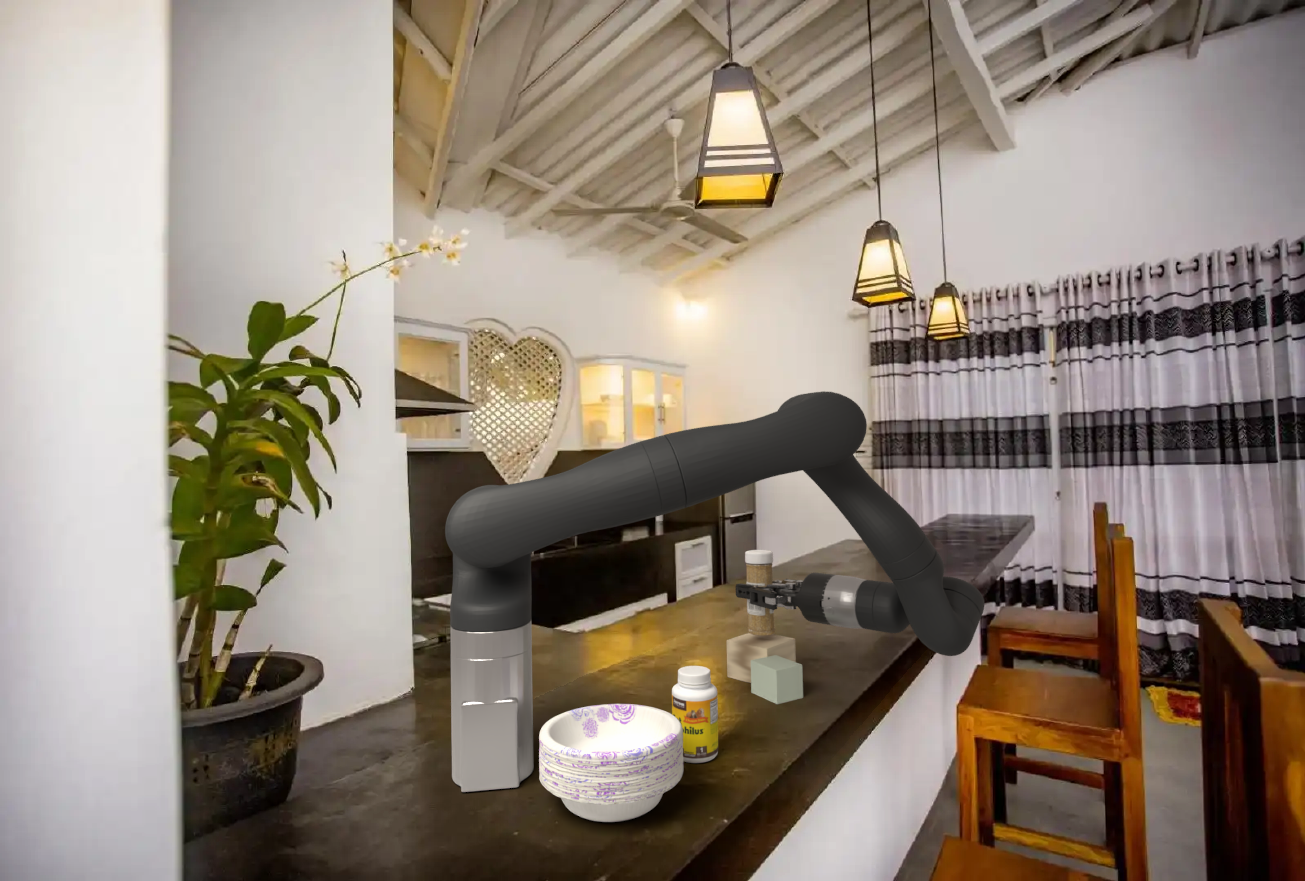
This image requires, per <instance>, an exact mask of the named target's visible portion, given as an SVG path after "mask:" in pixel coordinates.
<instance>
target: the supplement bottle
mask: <svg viewBox="0 0 1305 881" xmlns="http://www.w3.org/2000/svg"><path fill="white" fill-rule="evenodd" d="M711 680H712V677H711V669H709V668H708V667H706V666H702V665H686V666H682V667H680V668H679V669H678V670H677V683H676V684H674V685H673V687H672V688H671V714H672V715H673V716H675V717H676V718H677V719H678V720H679V722H680V723H681V725H682V728H683V762H684V763H685V762H686V763H691V764H702V763H707V762H710V761H712V760H714V759H715V758H716V757H717V756H718V753H719V720H718V719H719V712H718V711H719V710H718V706H719V705H718V704H719V703H718V702H719V701H718V700H719V699H718V688H717V687H716V686H715V685H714V684H713V683H712V681H711Z"/></svg>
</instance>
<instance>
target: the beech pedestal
mask: <svg viewBox="0 0 1305 881" xmlns="http://www.w3.org/2000/svg"><path fill="white" fill-rule="evenodd" d="M774 655H777V656H780V657H783V658H785V659H788V660H791V661H794V662H796V663H797V658H796V638H793V637H790V636H784V635H780V634H779V635H778V634H775V633H773V634H771V635H765V636H760V635H753V634H750V633H749V632H747V633H743V634H741V635H738V636H735V637H732V638H729V639H727V640H726V675H727V678H730V679H734V680H737V681H741V682H745V683H749V684H751V660H754V659H759V658H764V657H769V656H774Z"/></svg>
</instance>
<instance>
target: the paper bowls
mask: <svg viewBox="0 0 1305 881" xmlns="http://www.w3.org/2000/svg"><path fill="white" fill-rule="evenodd" d="M538 734H539V736H538V739H539V740H538V741H539V742H538V743H539V749H538V751H539V752H538V754H539V755H538V758H539V759H538V762H539V763H538V767H539V768H538V769H539V770H538V772H539V778H538V779H539V781H540V784H541V785H542V786H543V787H544V788H545V789H546V790H547V791H548V792H549V793H551V794H552V795H554V796H555V797H558V798H560V799H561V801H562V803H563V804H564V806H565V808H567V809H568V811H570V812H571V813H573V814H574V815H575V816H579V817H580V818H582V819H586V820H589V821H593V822H602V823H615V822H624V821H625V822H626V821H629V820H632V819H635V818H639V817H641V816H644V815H646V814H647V813H648V812H650V811H651V810H653V809H654V808H655V807H656V806H657V805H658V804H659V802H660V801H661V799H662V797H663V794H664V793H666V792H668V791H670V790H671V789H673V788H674V787H675V786H676V785H677V784H678V783H679V782H680V781H681V779H682V777H683V775H684V761H683V728H682V725H681V723H680V722H679V720H678V719H677V718H676V717H675V716H673V715H672V713H671V712H668V711H666V710H663V709H660V708H657V707H653V706H648V705H643V704H642V705H641V704H633V703H632V704H631V703H608V704H607V703H606V704H596V705H588V706H584V707H583V706H582V707H579V708H578V707H577V708H573V709H571V710H567V711H565V712H562V713H560V714H558V715H555V716H553V717H551V718H550V719H549V720H547V721H546V722H545V723H544V724H543V725H542V726H541V729H540V731H539V733H538Z"/></svg>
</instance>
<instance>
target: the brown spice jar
mask: <svg viewBox="0 0 1305 881" xmlns="http://www.w3.org/2000/svg"><path fill="white" fill-rule="evenodd" d="M744 562H745V563H746V564H745V565H746V581H745V582H746V583H745V584H749V585H759V586H767V585H768V584H770V583H772V581H773V563H774V554H773V551H772V550H769V549H751V550H747V551H745V552H744ZM746 611H747V624H748V625H747V633H750V634H753V635H760V636H765V635H771V634H775V632H776V628H775V617H774V616H775V610H772V609H768V608H764V607H760V606H757V605H752V604H750V599H746Z"/></svg>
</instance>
